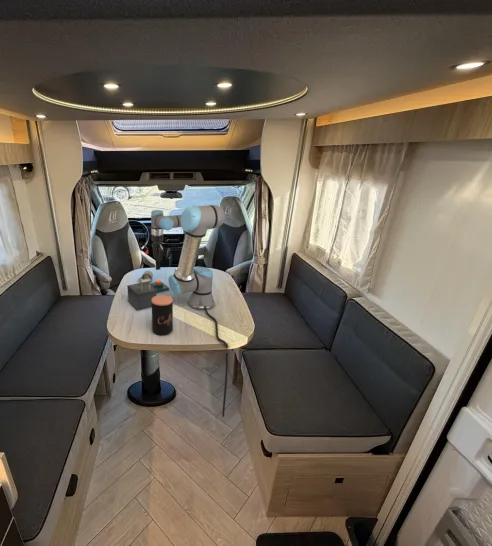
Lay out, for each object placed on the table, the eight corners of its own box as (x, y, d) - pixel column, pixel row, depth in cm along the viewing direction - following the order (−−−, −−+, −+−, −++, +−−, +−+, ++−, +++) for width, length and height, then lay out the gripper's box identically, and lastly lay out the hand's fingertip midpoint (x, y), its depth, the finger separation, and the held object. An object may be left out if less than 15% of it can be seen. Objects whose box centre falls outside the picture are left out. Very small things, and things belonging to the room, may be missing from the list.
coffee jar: (157, 338, 154) (156, 305, 147) (149, 328, 163) (148, 297, 156) (176, 333, 158) (176, 301, 152) (167, 323, 167) (166, 293, 161)
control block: (169, 290, 208) (169, 284, 207) (155, 293, 204) (155, 287, 202) (160, 284, 218) (160, 279, 217) (147, 287, 213) (147, 281, 212)
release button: (161, 284, 209) (161, 281, 208) (157, 285, 207) (157, 282, 207) (159, 282, 212) (159, 280, 211) (154, 283, 210) (154, 281, 210)
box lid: (157, 291, 183) (157, 278, 180) (137, 296, 177) (137, 282, 174) (145, 282, 195) (145, 270, 192) (127, 286, 189) (126, 274, 186)
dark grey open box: (156, 305, 187) (156, 291, 183) (137, 310, 181) (136, 295, 178) (146, 296, 199) (145, 282, 195) (128, 301, 193) (127, 286, 189)
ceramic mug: (153, 279, 227) (153, 269, 224) (152, 283, 219) (151, 273, 216) (139, 279, 227) (138, 269, 225) (137, 283, 220) (136, 273, 217)
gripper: (167, 236, 194) (167, 271, 202) (158, 232, 205) (158, 265, 213) (156, 237, 191) (157, 273, 199) (147, 233, 201) (148, 267, 210)
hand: (158, 269), depth 206 cm, fingers closed
